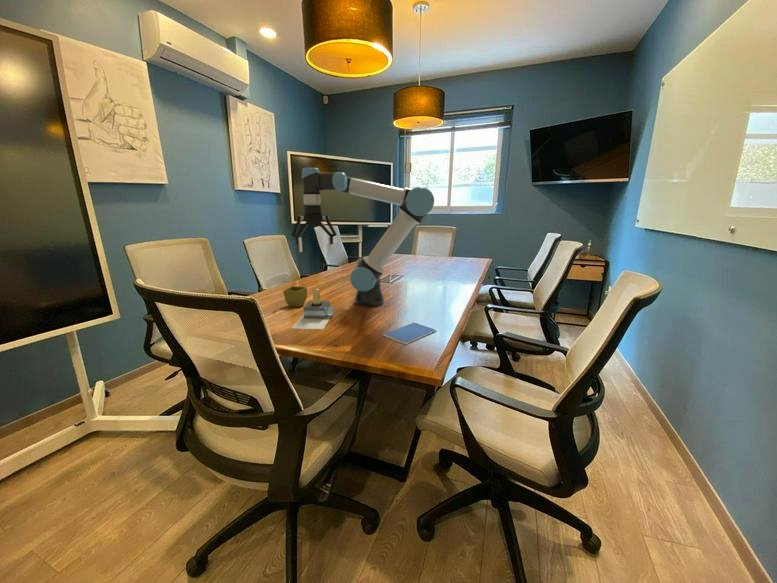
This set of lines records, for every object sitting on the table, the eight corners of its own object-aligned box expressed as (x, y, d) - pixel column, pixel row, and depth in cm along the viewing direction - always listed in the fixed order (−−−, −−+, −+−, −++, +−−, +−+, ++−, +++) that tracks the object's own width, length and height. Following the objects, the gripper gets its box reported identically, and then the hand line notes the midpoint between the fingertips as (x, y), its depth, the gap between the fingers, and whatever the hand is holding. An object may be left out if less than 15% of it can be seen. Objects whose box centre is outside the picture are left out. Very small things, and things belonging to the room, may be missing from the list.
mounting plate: (334, 314, 149) (334, 311, 149) (323, 332, 128) (323, 329, 128) (306, 313, 150) (306, 310, 149) (291, 331, 129) (290, 328, 128)
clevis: (336, 311, 149) (335, 301, 148) (331, 319, 139) (331, 308, 137) (310, 310, 149) (310, 300, 148) (304, 318, 139) (303, 307, 138)
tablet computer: (413, 324, 139) (414, 321, 139) (437, 332, 130) (437, 329, 130) (381, 337, 126) (381, 333, 125) (405, 346, 117) (406, 343, 117)
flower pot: (283, 307, 159) (282, 290, 156) (293, 302, 167) (291, 285, 164) (300, 309, 157) (298, 291, 154) (308, 304, 165) (307, 287, 162)
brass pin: (321, 314, 145) (320, 288, 142) (319, 316, 142) (318, 290, 139) (314, 314, 145) (313, 288, 142) (313, 316, 142) (311, 290, 139)
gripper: (341, 204, 149) (343, 250, 154) (286, 204, 148) (290, 250, 154) (339, 204, 142) (341, 252, 147) (282, 204, 141) (286, 253, 146)
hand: (315, 251), depth 150 cm, fingers open, 13 cm apart
